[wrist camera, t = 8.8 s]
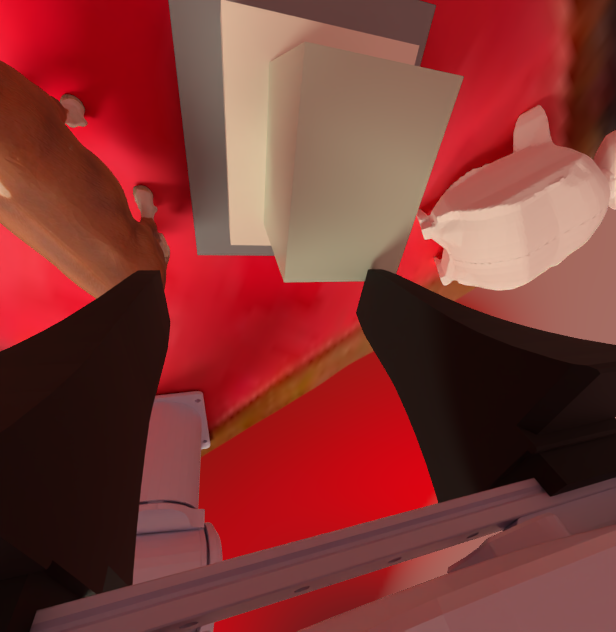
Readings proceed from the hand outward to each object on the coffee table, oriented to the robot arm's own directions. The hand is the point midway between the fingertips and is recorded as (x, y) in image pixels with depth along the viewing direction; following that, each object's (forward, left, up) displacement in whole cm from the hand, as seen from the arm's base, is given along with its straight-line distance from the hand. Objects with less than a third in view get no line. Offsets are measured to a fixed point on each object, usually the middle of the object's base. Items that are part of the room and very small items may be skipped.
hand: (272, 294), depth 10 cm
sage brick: (+4, -3, -6) cm, 8 cm away
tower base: (+4, -3, -10) cm, 11 cm away
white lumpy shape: (+2, -19, -11) cm, 22 cm away
